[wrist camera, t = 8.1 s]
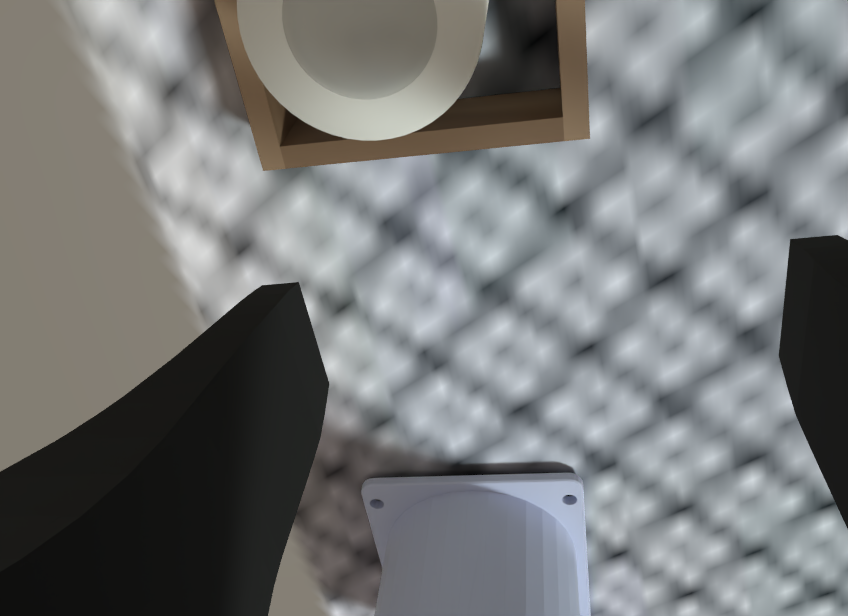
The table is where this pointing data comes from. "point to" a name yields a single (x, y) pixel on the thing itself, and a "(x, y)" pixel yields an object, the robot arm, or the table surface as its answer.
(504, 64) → the table surface
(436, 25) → the salt shaker
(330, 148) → the wooden tray
